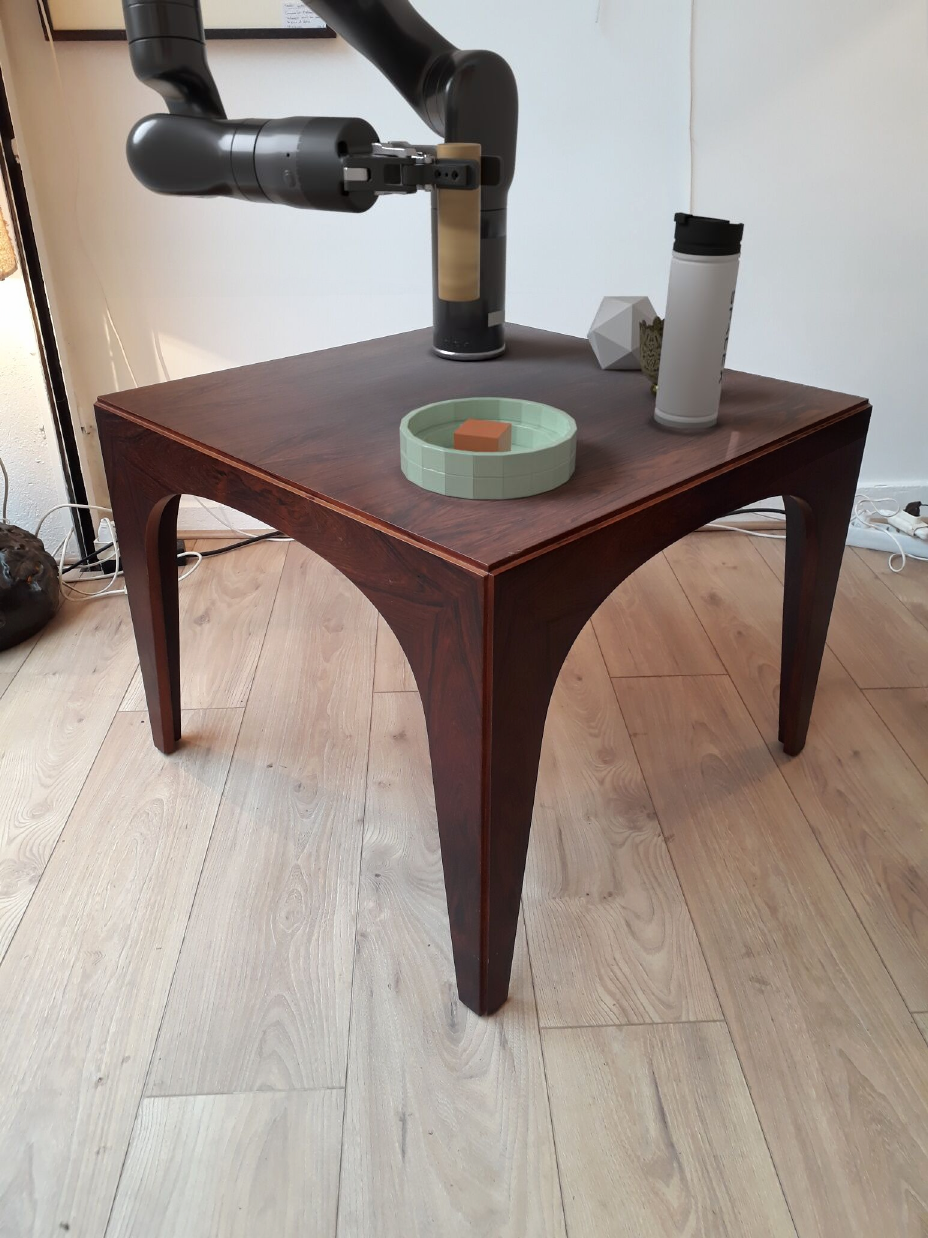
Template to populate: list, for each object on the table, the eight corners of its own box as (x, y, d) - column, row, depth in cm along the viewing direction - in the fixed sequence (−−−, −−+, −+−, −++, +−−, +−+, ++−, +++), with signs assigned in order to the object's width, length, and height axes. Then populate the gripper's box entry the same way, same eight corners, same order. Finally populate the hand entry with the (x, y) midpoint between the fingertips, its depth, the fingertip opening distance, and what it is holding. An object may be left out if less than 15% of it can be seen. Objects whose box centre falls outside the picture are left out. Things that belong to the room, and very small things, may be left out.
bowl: (437, 435, 90) (436, 390, 88) (589, 453, 86) (593, 406, 84) (374, 492, 78) (371, 442, 75) (549, 516, 73) (552, 464, 71)
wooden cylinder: (446, 292, 82) (445, 142, 76) (484, 294, 81) (486, 143, 75) (432, 299, 79) (430, 144, 73) (471, 302, 78) (472, 145, 72)
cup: (667, 410, 97) (676, 334, 93) (618, 394, 102) (625, 321, 98) (714, 398, 101) (724, 324, 97) (664, 382, 106) (672, 312, 102)
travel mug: (639, 418, 95) (660, 209, 84) (693, 411, 97) (720, 206, 86) (671, 437, 90) (697, 217, 79) (728, 429, 92) (760, 214, 81)
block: (468, 461, 83) (468, 418, 80) (510, 466, 81) (511, 423, 79) (453, 476, 79) (453, 432, 77) (497, 482, 78) (498, 437, 76)
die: (640, 386, 107) (687, 310, 106) (576, 344, 106) (623, 268, 105) (626, 391, 116) (670, 321, 114) (567, 353, 115) (610, 282, 113)
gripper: (263, 118, 74) (446, 123, 67) (362, 113, 84) (529, 117, 77) (272, 218, 78) (446, 233, 70) (367, 202, 88) (526, 213, 81)
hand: (489, 172), depth 74 cm, fingers closed on wooden cylinder, 3 cm apart
